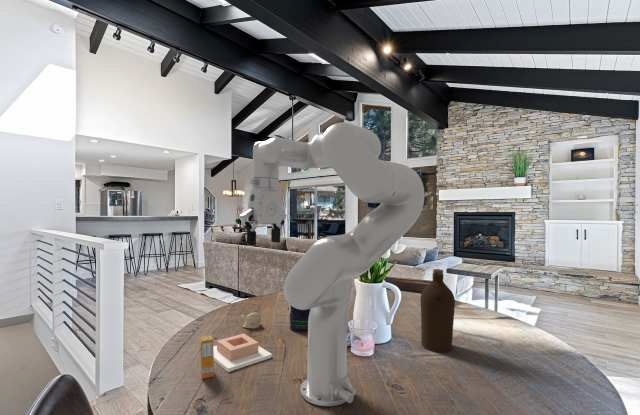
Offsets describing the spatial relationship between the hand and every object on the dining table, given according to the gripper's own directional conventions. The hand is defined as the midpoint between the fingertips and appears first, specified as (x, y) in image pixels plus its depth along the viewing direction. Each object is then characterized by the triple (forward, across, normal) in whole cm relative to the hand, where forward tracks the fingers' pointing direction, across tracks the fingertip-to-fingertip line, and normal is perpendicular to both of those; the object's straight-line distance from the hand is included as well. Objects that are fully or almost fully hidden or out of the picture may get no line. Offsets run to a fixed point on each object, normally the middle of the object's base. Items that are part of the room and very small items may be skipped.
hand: (263, 243), depth 99 cm
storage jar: (+34, +27, +6) cm, 44 cm away
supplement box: (+34, -16, +4) cm, 38 cm away
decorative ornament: (+35, +16, +22) cm, 44 cm away
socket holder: (+34, -3, +7) cm, 35 cm away
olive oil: (+34, +42, -38) cm, 66 cm away
